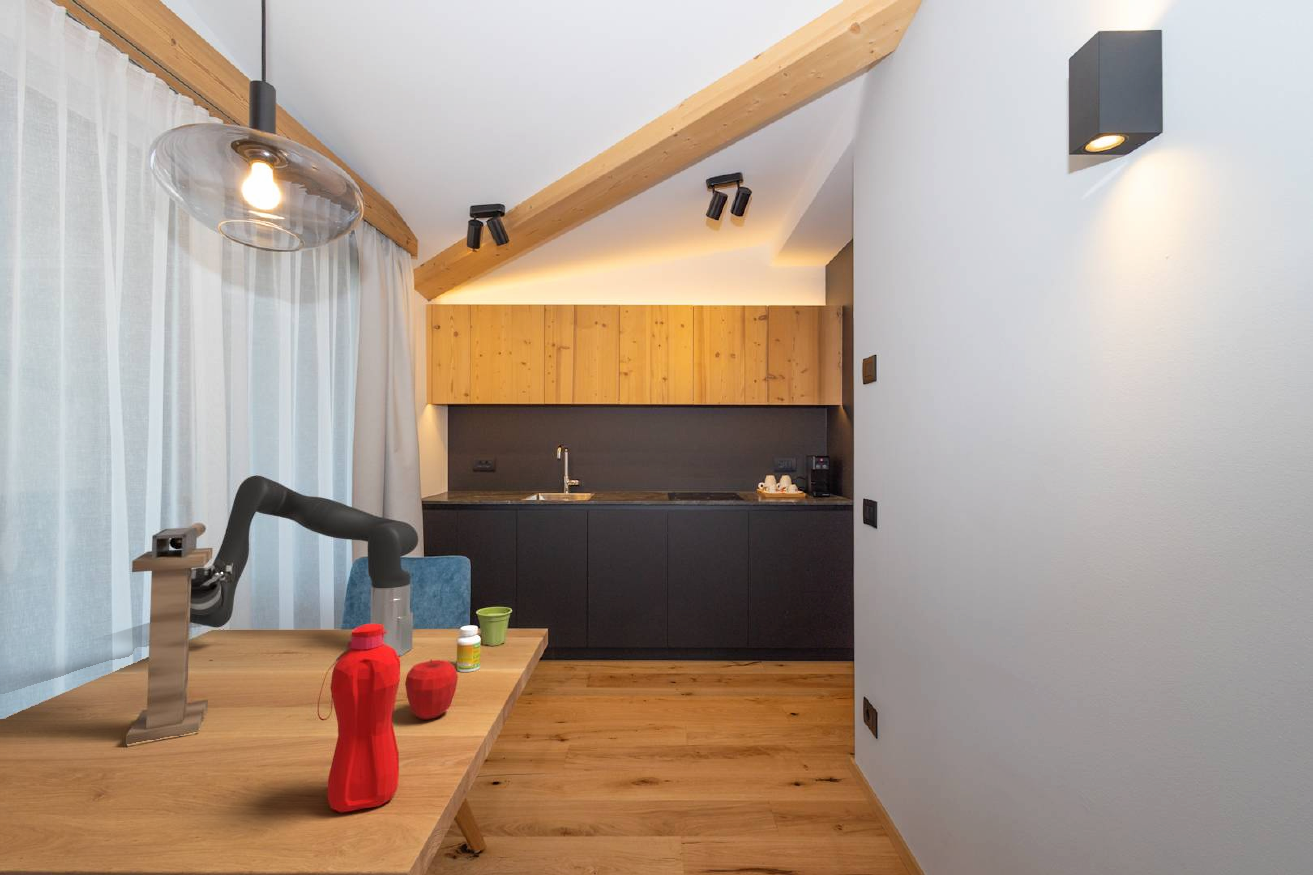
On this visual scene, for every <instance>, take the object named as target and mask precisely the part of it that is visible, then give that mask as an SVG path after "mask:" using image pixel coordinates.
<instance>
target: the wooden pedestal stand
mask: <svg viewBox="0 0 1313 875" xmlns="http://www.w3.org/2000/svg"><path fill="white" fill-rule="evenodd" d="M211 559H213V547H207V548H206V547H202V548H196V549H195V550H194V551H193V552H192V553H190V554H189V555H188V556H187V557H184V558H182V549H169V551H167V552H166V553H164V554H163V555H162V556H160V557H159V558H157V559H152V550H150V551H146V552H145V553H143V554H142V555H140V556H138V557H136V558H135V559H133V560H132V561H131V563H132V564H131V573H142V572H151V580H150V583H151V584H150V606H149V607H150V609H149V610H150V611H149V635H148V636H149V638H148V639H149V640H148V666H147V667H148V668H147V691H146V692H147V693H146V694H147V696H146V697H147V699H146V709H142V710H141V712H140V714H139V715H138V716H137V717H136V719H135V721H134V723H133V724H132V726H131V727H130V729H129V730H128V731H127V733H126V734H125V746H126V745H127V744H132V743H136V742H142V741H147V740H156V739H160V738H164V737H170V736H180V735H184V734H189V733H193V732H198V731H199V732H200V730H199V728H200V726H201V727H202V725H201V723H202V721H203V722H204V720H205V718H204V716H205V717H206V715H205V714H207V712H206V710H207V708H208V702H209V699H204V700H197V701H191V702H188V686H189V685H188V684H189V683H188V682H189V661H190V660H189V656H190V655H189V654H190V598H191V569H195V568H205V566H206V565H207V564H208V563H209V562H210V560H211ZM207 711H208V710H207ZM203 719H204V720H203ZM202 724H203V723H202ZM200 729H201V728H200Z"/></svg>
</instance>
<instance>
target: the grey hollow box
mask: <svg viewBox="0 0 1313 875" xmlns="http://www.w3.org/2000/svg"><path fill="white" fill-rule="evenodd" d="M171 538H182V549H181V550H182V558H184V557H187V556H188V555H189V554H190V553H192V552H193V551H194V550H195V549H197V539H198V538H197V527H196V528H189V527H179V528H175V527H174V528H164V529H163V530H161V531H158V532H157V533H155V534H152V540H151V551H152V559H157V558H159V557H160V556H162V555H163V554H164V553H166V552H167V551H169V550H170V539H171Z"/></svg>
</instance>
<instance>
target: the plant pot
mask: <svg viewBox="0 0 1313 875" xmlns="http://www.w3.org/2000/svg"><path fill="white" fill-rule="evenodd" d="M512 612H513V610H512V608H510V607H506V606H505V607H504V606H491V607H485V608H480V609H477V611H476V612H475V613H476V615H477V618H478V619H477V620H478V622H479V629H480V635H481V636H480V638H481V644H482V645H483V646H490V647H494V646H500V645H502V644H505V643H506V640H507V634H508V626H509V619H510V617H511V613H512Z"/></svg>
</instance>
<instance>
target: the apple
mask: <svg viewBox="0 0 1313 875" xmlns="http://www.w3.org/2000/svg"><path fill="white" fill-rule="evenodd" d="M458 679H459V676H458V672H457V668H456V667H455V666H454V665H453V664H452V663H451V662H449V661H448V660H443V659H441V660H440V659H435V660H432V659H430V660H429V661H424V662H419V663H417V664H414V665H413V666H412V667H411V668H410V669H409V671H408V672H407V673H406V678H405V683H404V686H405V690H406V697H407V700H408V704H409V707H410V712H412V714H413V715H414V716H416V717H418V718H419V719H421V720H432V719H434V718H435V719H436V718H438V717H439V716H440V717H441V715H442V714H444V713H445V712H446V711H447V710H449V708H450V707H451V706H452V702H453V700H454V697H455V693H456V690H457V685H458Z"/></svg>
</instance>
